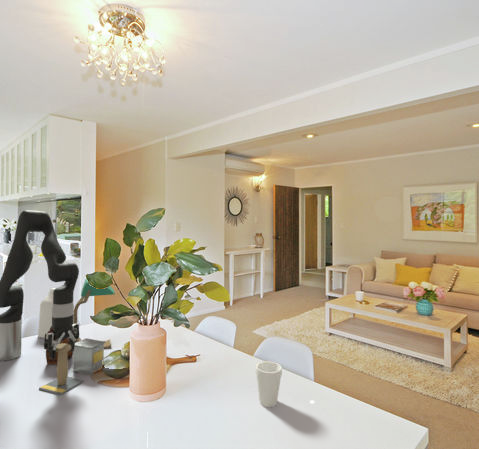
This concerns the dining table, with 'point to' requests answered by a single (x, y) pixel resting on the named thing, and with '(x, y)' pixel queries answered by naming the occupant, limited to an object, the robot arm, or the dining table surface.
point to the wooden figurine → (52, 362)
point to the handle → (62, 362)
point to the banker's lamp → (85, 293)
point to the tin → (88, 356)
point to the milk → (46, 314)
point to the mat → (61, 386)
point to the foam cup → (268, 382)
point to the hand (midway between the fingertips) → (62, 354)
